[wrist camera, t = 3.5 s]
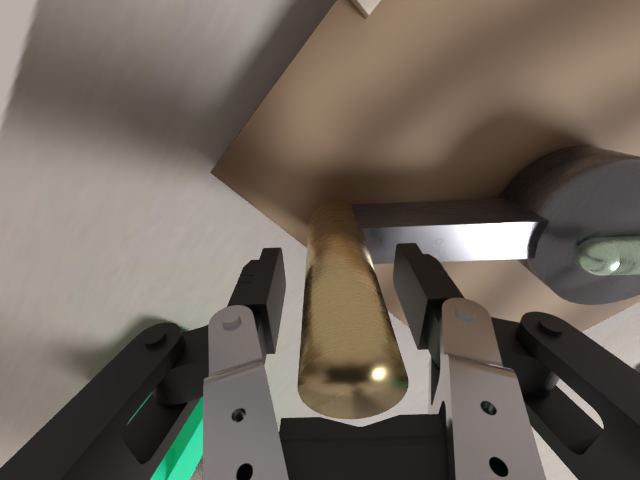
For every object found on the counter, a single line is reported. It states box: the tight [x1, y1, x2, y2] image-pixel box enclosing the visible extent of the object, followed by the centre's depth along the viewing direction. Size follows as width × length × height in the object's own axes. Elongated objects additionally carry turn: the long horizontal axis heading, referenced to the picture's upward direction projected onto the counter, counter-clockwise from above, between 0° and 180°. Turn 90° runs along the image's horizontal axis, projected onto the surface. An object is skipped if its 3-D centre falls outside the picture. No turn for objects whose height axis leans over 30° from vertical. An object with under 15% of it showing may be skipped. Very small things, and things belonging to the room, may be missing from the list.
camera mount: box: [129, 393, 203, 480], centre depth 22 cm, size 12×8×10 cm, turn 133°
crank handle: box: [298, 146, 640, 419], centre depth 12 cm, size 18×7×11 cm, turn 92°
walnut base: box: [210, 0, 640, 332], centre depth 16 cm, size 28×24×3 cm
